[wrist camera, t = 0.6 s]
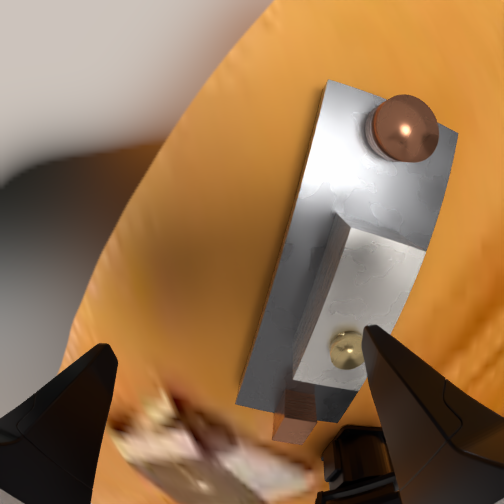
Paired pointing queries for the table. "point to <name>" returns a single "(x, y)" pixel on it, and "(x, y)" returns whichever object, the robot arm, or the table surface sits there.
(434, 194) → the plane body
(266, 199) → the table surface
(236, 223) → the table surface
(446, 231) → the table surface
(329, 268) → the brown and grey block
